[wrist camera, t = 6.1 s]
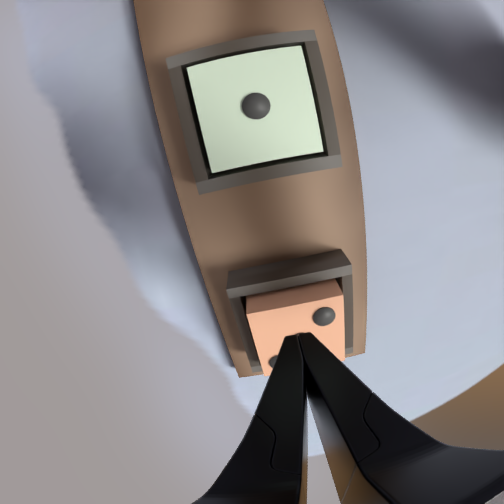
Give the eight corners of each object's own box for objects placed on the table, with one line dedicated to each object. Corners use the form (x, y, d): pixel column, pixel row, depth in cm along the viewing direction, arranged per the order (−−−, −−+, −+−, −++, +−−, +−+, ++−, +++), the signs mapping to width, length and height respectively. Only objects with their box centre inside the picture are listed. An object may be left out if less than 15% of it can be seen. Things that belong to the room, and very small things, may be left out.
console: (270, -105, 6) (273, -127, 4) (361, 344, 21) (372, 370, 18) (128, -75, 7) (114, -94, 4) (239, 368, 22) (238, 397, 19)
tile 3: (333, 275, 16) (343, 295, 14) (337, 339, 18) (345, 361, 16) (246, 292, 16) (246, 315, 14) (263, 354, 18) (264, 377, 16)
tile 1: (294, 55, 12) (301, 45, 10) (313, 147, 14) (323, 151, 12) (194, 74, 12) (186, 67, 10) (216, 166, 14) (211, 173, 12)
